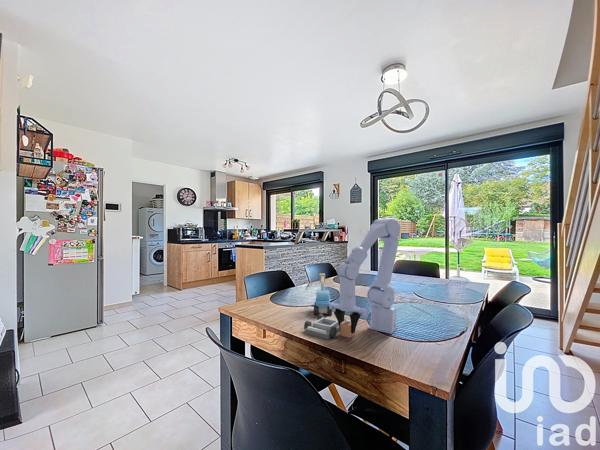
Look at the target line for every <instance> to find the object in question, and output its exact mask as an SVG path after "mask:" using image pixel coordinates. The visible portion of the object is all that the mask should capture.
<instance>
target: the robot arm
mask: <svg viewBox="0 0 600 450" xmlns="http://www.w3.org/2000/svg"><path fill="white" fill-rule="evenodd" d="M369 226H370V228H369V231H368V233H367V234H366V236H365V237H364V239H363V240H362V242H361V244H359V245H360V246H355V247H354V248H352V249H351V252H350V254H348V256H347V258H345V260H344V261H343V262H341V263H340V264H339V265H338V267H337V269H336V273H337V276H338V278H339V279H338V280H339V303H337V302H336V303H335V302H330V304H329V309H332V310H335V311H334V312H333V314H334V316H335V318H337V321H338V324H339V327H340V323H342V322H343V321H344V319H345V314H346V312H347V313H351V314H350V315H349V318H350V319H349V320H350V321H351V333H354V332H356V330H357V324H358V322H359V320H360V317H361V316H363V317H366V316H367V315H368V309H367V308H363V307H359V306H357V305H356V278H357V277H358V276H359V273H360V268H361V267H362V264H364V262H365V260H366V259H367V257H368V251H369V250H370V249H371V248H372V247H373V245H374V244H375V243H376V242H377V240H378V239H380V240H381V241H382V242H383V247H382V253H381V255H380V256H381V257H380V262H379V265H378V269H377V270H378V271H377V275H376V279H375V280H374V281H373V282H371V284H370V288H369V289H368V290H367V293H366V297H367V300H368V301H369V304H370V308H371V309H370V313H371V314H370V317H371V318H370V319H371V320H370V324H369V325H368V326H367V329H368V330H373V331H378V332H383V333H386V334H391V335H392V334H393V333H394V332H395V331H396V329H397V328H398V327H397V309H396V308H394V307H392V306H393V305H394V303H395V288H394V286H392V285H391V280H392V276H393V272H394V266H395V262H396V256H397V252H398V247H399V243H400V242H399V241H400V239H399V236H400V231H401V225H400V223H399V222H398V220H397V219H395V218H388V219H386V218H385V219H378V218H377V219H374V220H373V222H372V224H370V225H369Z"/></svg>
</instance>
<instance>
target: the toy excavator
mask: <svg viewBox="0 0 600 450" xmlns="http://www.w3.org/2000/svg"><path fill="white" fill-rule="evenodd" d="M318 275H319V276H318V277H319V280H318V282H319V283H320V289H321V290H317V291H316V295H315V302H314V305H313V315H314V316H315V315H316V316H318V315H319V314H327V316H332V315H333V309H329V304H330V303H331V297H330V291H329V290H325V283H326V273H319V274H318Z"/></svg>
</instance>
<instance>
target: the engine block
mask: <svg viewBox="0 0 600 450" xmlns="http://www.w3.org/2000/svg"><path fill="white" fill-rule="evenodd" d="M339 332H340V333H339V334H340V335H339V336H342V337H345V338H352V337H354V336H355V332H356V331H355V332H354V333H351V319H346V320H345V321H343V322H342V323H340V331H339Z"/></svg>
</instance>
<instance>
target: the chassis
mask: <svg viewBox="0 0 600 450" xmlns="http://www.w3.org/2000/svg"><path fill="white" fill-rule="evenodd" d="M345 320H347V319H345V318H344V321H345ZM312 323H313V324H312ZM303 329H304V334H306V333H307V334H306V335H311V336H314V337H317V338H321V339H325V340H329V339H331V338H334V339H335V338H336V336H337V334H338V333H339V332H340V327H339V324H338V321H337V318H336V317H333V316H330V315H327V316H326V317H325V315H324V313H318V315H317V319H316V320H315V321H313V322H311V320H305V322H304V324H303Z"/></svg>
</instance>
